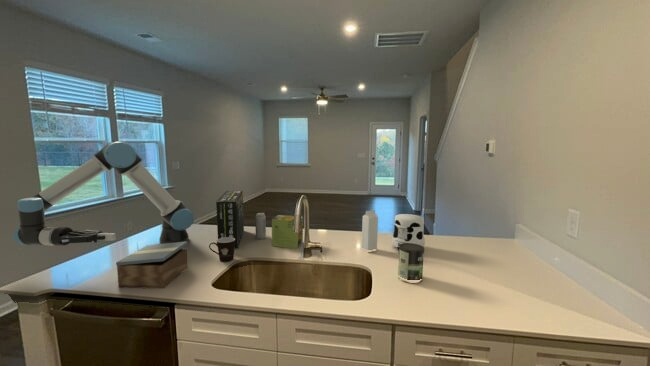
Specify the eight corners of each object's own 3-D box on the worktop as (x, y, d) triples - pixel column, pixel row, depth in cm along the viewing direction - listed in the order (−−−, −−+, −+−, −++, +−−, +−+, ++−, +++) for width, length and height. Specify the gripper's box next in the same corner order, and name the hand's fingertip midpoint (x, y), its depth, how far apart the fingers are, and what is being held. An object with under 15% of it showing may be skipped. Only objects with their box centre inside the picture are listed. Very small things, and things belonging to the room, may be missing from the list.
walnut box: (118, 287, 117) (116, 265, 116) (148, 266, 137) (147, 247, 136) (164, 288, 117) (163, 266, 116) (187, 267, 137) (187, 248, 136)
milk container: (419, 244, 175) (420, 213, 172) (428, 254, 157) (430, 221, 155) (389, 243, 175) (390, 213, 173) (395, 254, 158) (396, 220, 156)
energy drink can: (257, 236, 185) (256, 212, 183) (266, 236, 185) (266, 212, 183) (254, 239, 179) (254, 214, 177) (264, 239, 179) (264, 215, 177)
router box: (226, 231, 195) (225, 190, 191) (244, 230, 197) (243, 190, 193) (216, 250, 160) (215, 200, 157) (238, 249, 162) (237, 200, 159)
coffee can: (425, 276, 131) (427, 245, 129) (418, 286, 122) (420, 252, 120) (402, 271, 136) (403, 241, 134) (394, 279, 127) (395, 247, 126)
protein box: (298, 248, 165) (298, 220, 163) (271, 246, 168) (271, 219, 166) (303, 242, 175) (303, 216, 173) (278, 240, 178) (278, 214, 176)
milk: (361, 249, 164) (362, 210, 161) (370, 248, 167) (371, 209, 164) (367, 253, 159) (368, 212, 156) (377, 251, 161) (378, 211, 159)
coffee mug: (239, 257, 150) (238, 238, 148) (228, 264, 142) (227, 243, 140) (219, 254, 153) (219, 235, 152) (208, 260, 145) (207, 240, 144)
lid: (116, 265, 116) (115, 262, 116) (147, 247, 136) (147, 244, 136) (163, 261, 116) (163, 257, 115) (187, 243, 136) (187, 241, 136)
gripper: (71, 240, 132) (125, 240, 132) (43, 250, 119) (103, 251, 119) (69, 223, 131) (124, 224, 131) (42, 231, 118) (102, 232, 118)
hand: (114, 236), depth 125 cm, fingers closed
